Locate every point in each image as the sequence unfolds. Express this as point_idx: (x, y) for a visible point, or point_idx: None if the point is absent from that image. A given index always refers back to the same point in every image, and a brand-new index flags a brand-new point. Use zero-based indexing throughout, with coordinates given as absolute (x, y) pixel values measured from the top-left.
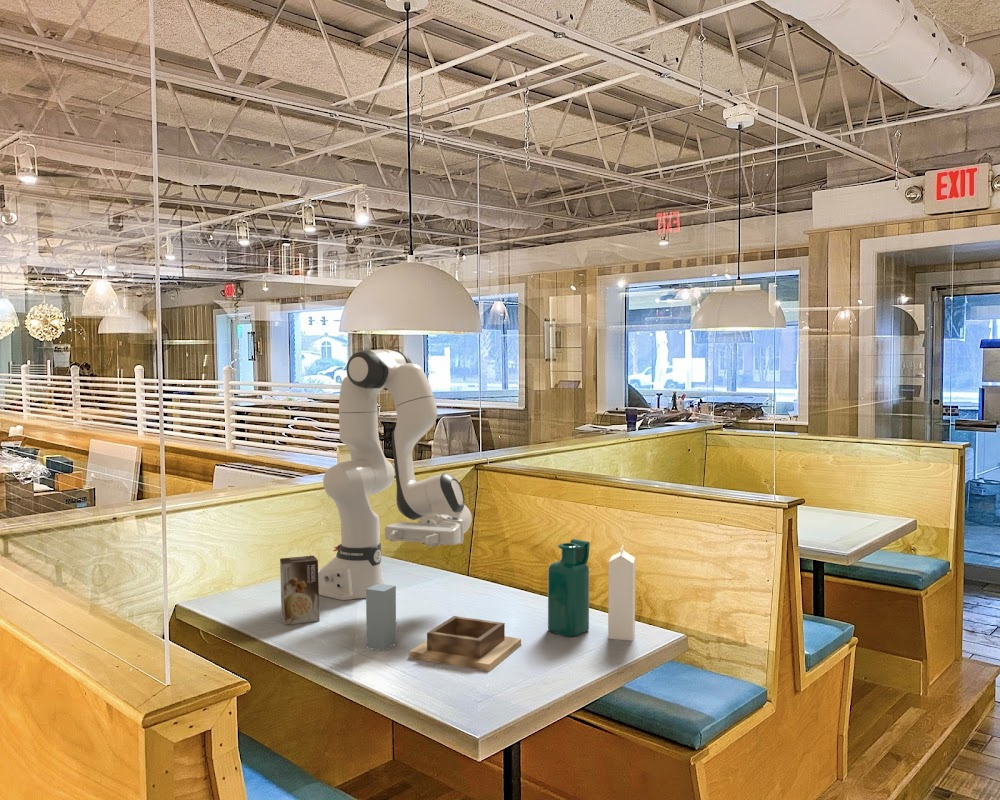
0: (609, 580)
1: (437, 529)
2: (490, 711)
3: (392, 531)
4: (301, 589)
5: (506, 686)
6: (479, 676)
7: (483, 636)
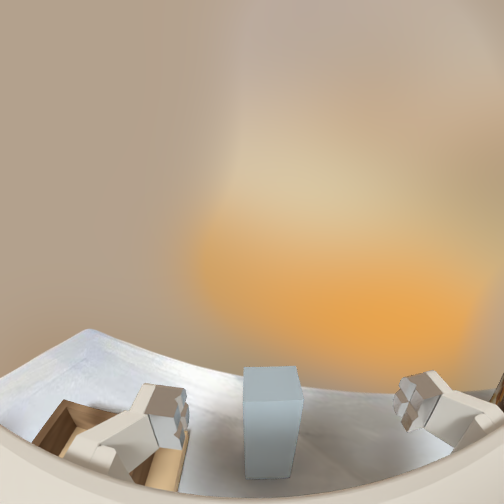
0: None
1: (66, 485)
2: (76, 348)
3: (483, 400)
4: (498, 400)
5: (55, 382)
6: (79, 400)
7: (56, 413)
